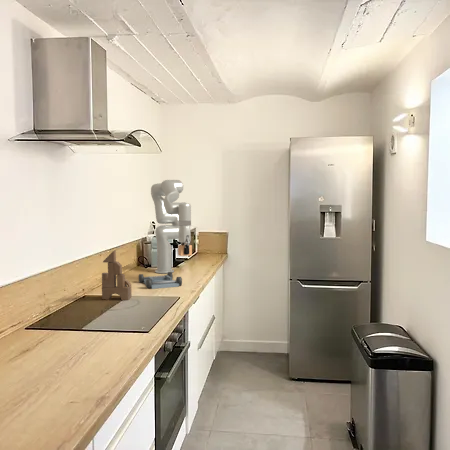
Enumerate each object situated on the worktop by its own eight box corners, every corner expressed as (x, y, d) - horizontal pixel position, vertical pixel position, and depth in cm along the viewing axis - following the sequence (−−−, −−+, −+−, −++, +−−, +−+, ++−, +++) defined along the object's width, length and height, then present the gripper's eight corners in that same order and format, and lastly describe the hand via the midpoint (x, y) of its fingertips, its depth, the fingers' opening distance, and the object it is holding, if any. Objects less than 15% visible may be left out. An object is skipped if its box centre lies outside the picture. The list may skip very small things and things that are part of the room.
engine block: (178, 254, 285) (178, 245, 284) (189, 254, 287) (189, 244, 287) (180, 256, 280) (180, 246, 280) (191, 255, 283) (191, 245, 282)
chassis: (138, 281, 285) (138, 273, 285) (170, 279, 293) (170, 271, 293) (148, 289, 263) (148, 280, 263) (182, 286, 271) (182, 277, 271)
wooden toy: (132, 297, 244) (131, 249, 242) (128, 300, 237) (127, 251, 235) (103, 296, 246) (102, 249, 244) (98, 299, 239) (97, 250, 237)
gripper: (174, 222, 289) (174, 252, 290) (183, 224, 273) (183, 255, 274) (186, 222, 292) (186, 251, 293) (195, 224, 276) (195, 255, 277)
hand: (185, 253), depth 284 cm, fingers closed on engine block, 5 cm apart
